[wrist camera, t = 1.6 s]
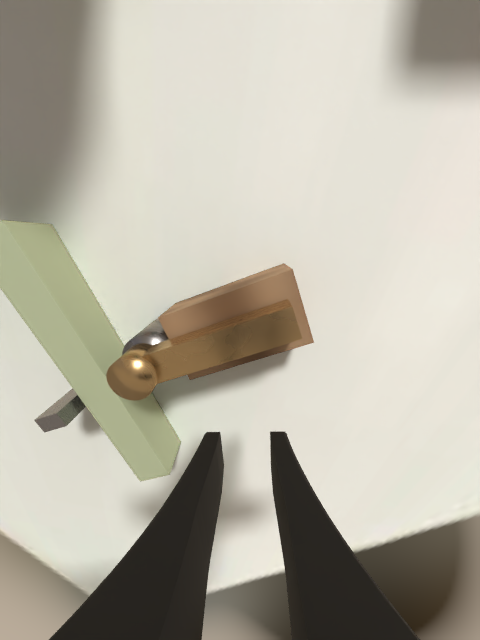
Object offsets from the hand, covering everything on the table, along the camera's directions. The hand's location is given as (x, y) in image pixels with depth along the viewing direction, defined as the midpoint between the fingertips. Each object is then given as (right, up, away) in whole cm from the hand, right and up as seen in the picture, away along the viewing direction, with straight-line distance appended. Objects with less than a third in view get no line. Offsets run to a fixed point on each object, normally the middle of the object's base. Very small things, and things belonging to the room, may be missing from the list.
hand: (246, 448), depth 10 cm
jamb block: (0, +6, +8) cm, 10 cm away
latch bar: (-3, +4, +4) cm, 7 cm away
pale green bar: (-12, +3, +10) cm, 15 cm away
